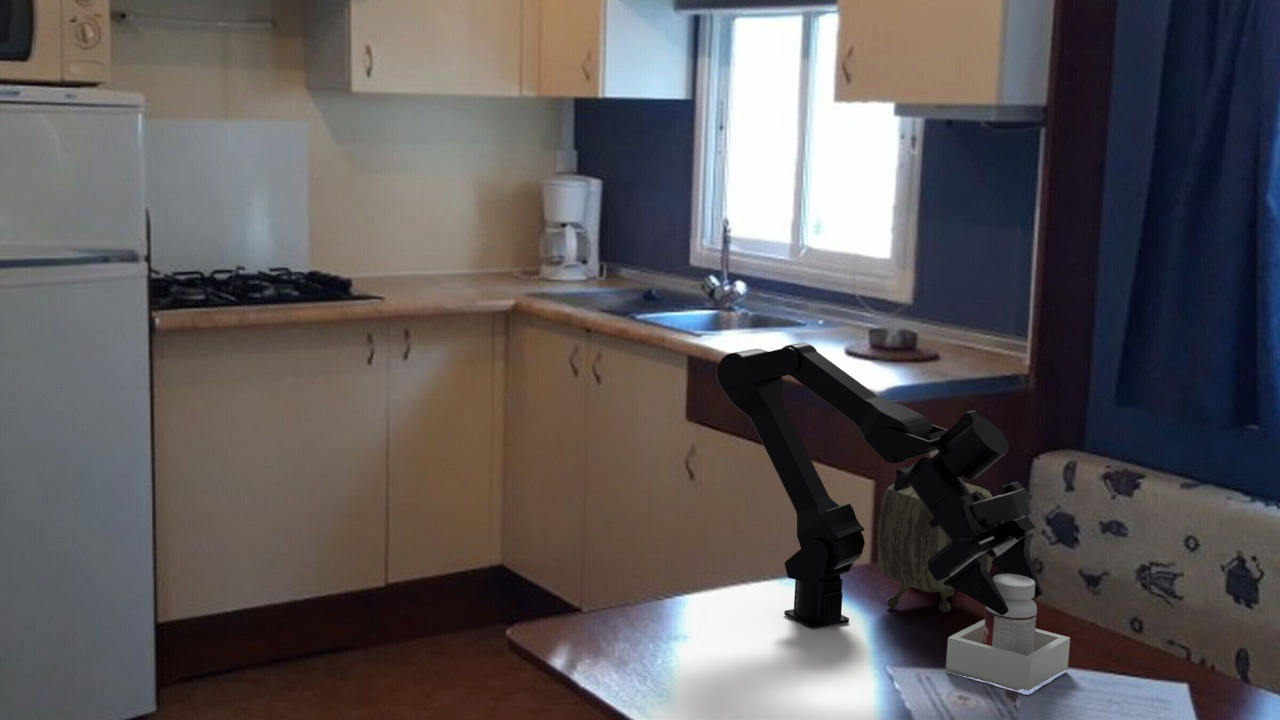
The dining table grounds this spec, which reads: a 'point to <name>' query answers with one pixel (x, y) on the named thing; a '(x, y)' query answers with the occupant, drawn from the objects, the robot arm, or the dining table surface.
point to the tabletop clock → (912, 543)
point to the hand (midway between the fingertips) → (1022, 604)
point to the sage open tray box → (1006, 658)
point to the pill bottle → (1013, 615)
